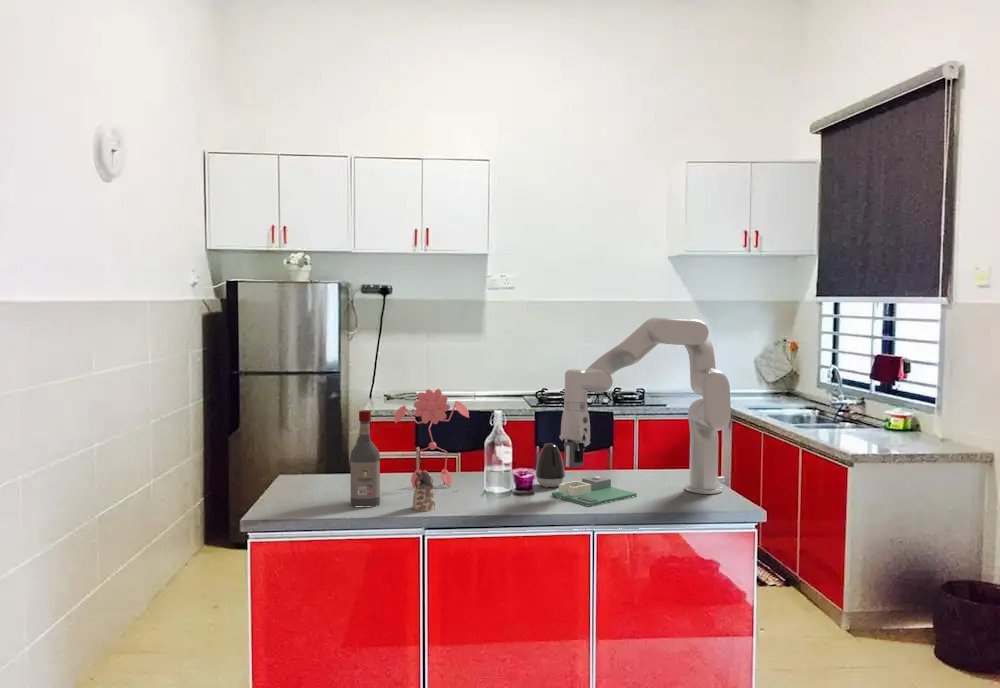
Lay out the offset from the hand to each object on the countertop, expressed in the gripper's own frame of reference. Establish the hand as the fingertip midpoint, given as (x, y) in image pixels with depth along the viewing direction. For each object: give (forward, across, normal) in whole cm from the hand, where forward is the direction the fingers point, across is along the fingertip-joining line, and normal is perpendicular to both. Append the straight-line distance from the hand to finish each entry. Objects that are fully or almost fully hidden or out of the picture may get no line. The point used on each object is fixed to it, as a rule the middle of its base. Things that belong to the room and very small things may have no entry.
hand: (573, 460), depth 269 cm
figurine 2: (+13, +17, +48) cm, 53 cm away
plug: (+2, 0, 0) cm, 2 cm away
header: (+12, 0, -1) cm, 12 cm away
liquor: (+14, +33, +60) cm, 70 cm away
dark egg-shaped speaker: (+12, +16, -4) cm, 20 cm away
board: (+12, -4, -6) cm, 14 cm away
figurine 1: (+13, +37, +32) cm, 51 cm away
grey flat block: (+11, +2, -13) cm, 17 cm away
